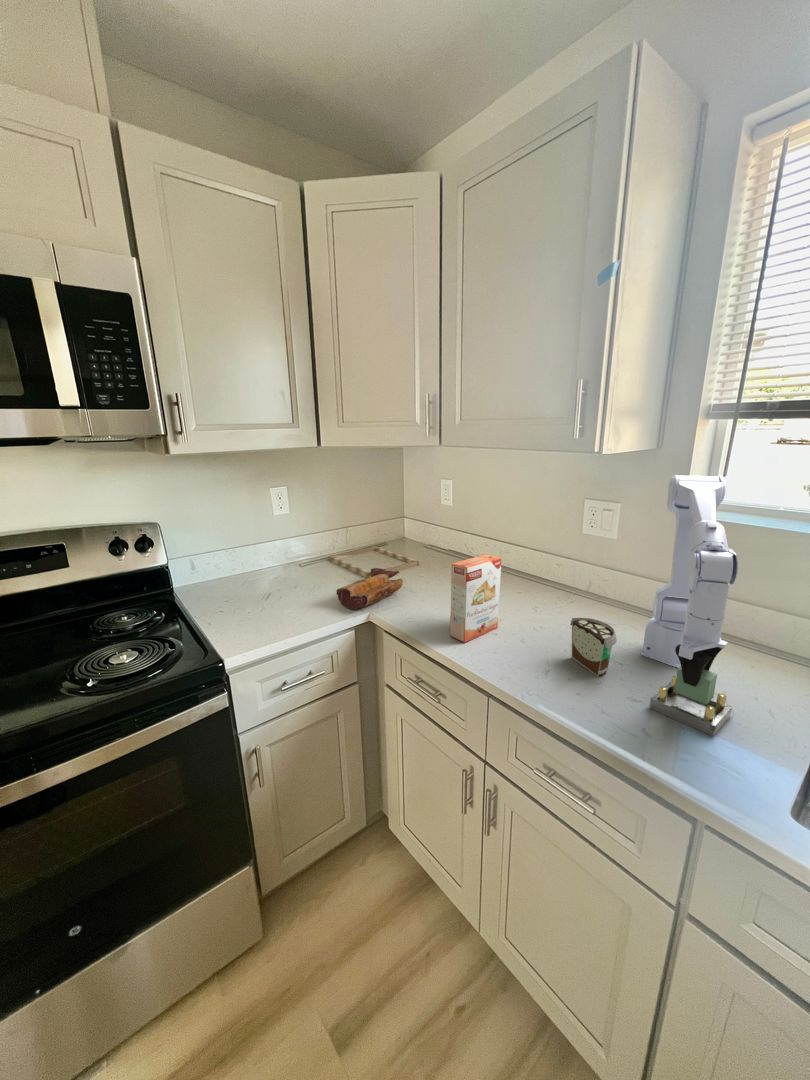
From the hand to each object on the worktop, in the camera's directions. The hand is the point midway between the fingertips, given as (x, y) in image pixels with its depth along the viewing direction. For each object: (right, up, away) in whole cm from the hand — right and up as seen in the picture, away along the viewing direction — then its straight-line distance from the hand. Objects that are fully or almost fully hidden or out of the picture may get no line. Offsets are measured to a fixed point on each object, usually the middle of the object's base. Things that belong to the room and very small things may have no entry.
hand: (694, 680), depth 85 cm
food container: (-11, -3, +20) cm, 22 cm away
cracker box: (-36, +1, +37) cm, 52 cm away
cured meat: (-66, +14, +62) cm, 92 cm away
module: (0, -3, +1) cm, 3 cm away
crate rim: (-69, +16, +99) cm, 121 cm away
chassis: (0, -7, +2) cm, 7 cm away
